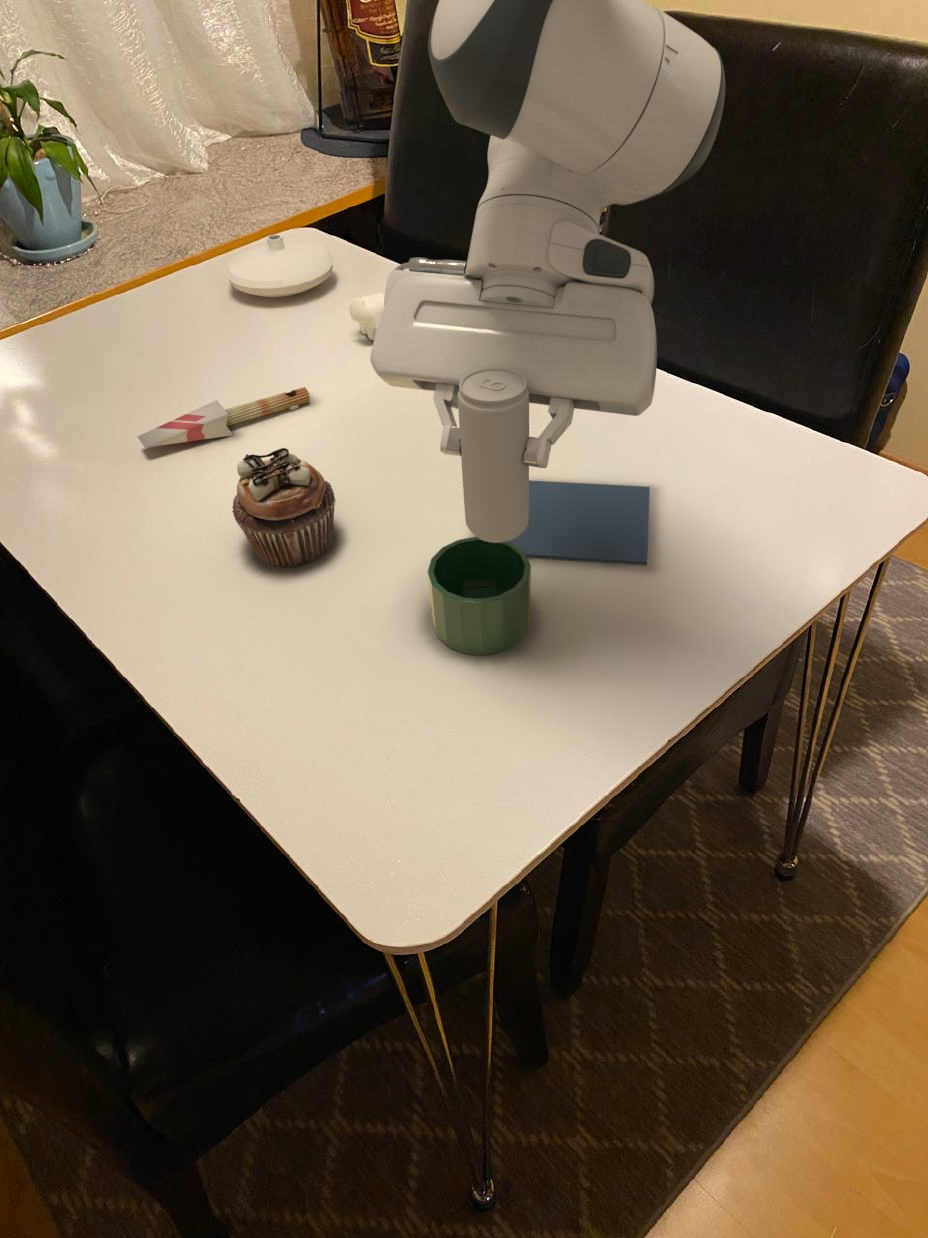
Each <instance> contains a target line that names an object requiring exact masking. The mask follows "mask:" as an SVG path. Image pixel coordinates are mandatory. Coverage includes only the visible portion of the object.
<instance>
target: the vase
mask: <svg viewBox="0 0 928 1238" xmlns="http://www.w3.org/2000/svg"><path fill="white" fill-rule="evenodd" d="M333 267H334V257H333V256H332V254H331V253H330V252H329V251H328V250H327V249H325V248H324V247H323V246H321V245H319V244H315V243H311V242H306V241H284V238H283V235H282V234H277V233H275V234H270V235H267V236H266V243H264V244H261V245H258V246H257V245H256V246H254V247H251V248H249V249H246V250H244V251H242V252H239V253H238V254H236V255H235V256H233V258H232V259H231V260H230V261H229V262H228V264H227V266H226V269H225V276H226V279H227V280H228V282H229V283H230V286H231V287H233V288H234V289H236V290H237V291H239V292H242V293H245V294H249V295H253V296H257V297H264V298H283V297H290V296H295V295H298V294H301V293H305V292H307V291H309V290H311V289H312V288H315V287H317V286H318V285H319V284H321V283H323V282H324V281H325V280H327V279H328V278H329V277H330V276H331V274H332V273H333Z"/></svg>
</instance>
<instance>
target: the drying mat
mask: <svg viewBox="0 0 928 1238" xmlns="http://www.w3.org/2000/svg"><path fill="white" fill-rule="evenodd" d="M649 512H650V486H642V485H641V486H640V485H622V484H607V483H605V484H603V483H588V482H587V483H585V482H566V481H546V480H531V479H529V522H528V525H527V527H526V529H525V530H524V531H523V532H522V533H521V534H520V535H519V536H517V537H516V538H514V539H512V540H509V541H508V542H511V543H513V544H515V545H516V546H517V547H518V548H520V549H521V550H522V551H523V552H525V553H526V556H527V558H528V559H529V558H531V559H545V560H560V561H562V560H563V561H574V562H575V561H576V562H577V561H578V562H592V563H605V564H619V565H620V564H622V565H636V566H647V565H648V555H649V551H648V550H649V547H648V546H649V521H650V520H649V518H650V517H649V516H650V515H649V514H650V513H649Z"/></svg>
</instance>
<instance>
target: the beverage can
mask: <svg viewBox="0 0 928 1238" xmlns="http://www.w3.org/2000/svg"><path fill="white" fill-rule="evenodd" d="M459 388H460V389H459V392H458V409H457V410H458V424H459V426H458V427H460V443H461V456H460V457H461V458H460V459H461V475H462V490H463V504H464V505H463V506H464V518H465V524H466V525H465V526H466V527H467V529H468V530H469V531H470V532H471V533H472V534H473V535H474V537H478V538H480V539H481V540H483V541H487V542H494V543H499V542H506V541H509V540H512V539H514V538H516V537H517V536H519V535H520V534H521V533H522V532H523V531H524V530H525V529H526V527H527V525H528V522H529V480H530V466H526V464H525V463H524V462H523V457H524V452H525V451H526V450H527V448H526V446H525V445H526V442H527V438H528V437H530V403H529V391H528V387H527V381H526V378H525V377H524V376H523V375H522V374H521V373H519V372H517V371H515V370H512V369H508V368H503V367H489V368H482V369H478V370H475V371H472V372H470V373H468V374H467V375H465V376H464V377H463V378H462V379H461V381H460V384H459Z"/></svg>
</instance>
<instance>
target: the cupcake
mask: <svg viewBox="0 0 928 1238" xmlns="http://www.w3.org/2000/svg"><path fill="white" fill-rule="evenodd" d="M263 458H269V459H267V460H263ZM236 467H237V469H236V471H237V475H238V476H239V477H240V478H239V480H238V482H237V485H236V495H235V496H234V498H233V500H232V510H231V512H232V514H233V517H234V521H235V522H236V524H237V525H238V527H239V528H240V530H241V531H242V533H243V534H244V535H245V537H246V539H247V541H248V543H249V546H250V547H251V550H252V551H253V552H254V554H255V555H256V556H257V558H259V559H260V561H261V562H264V563H266V564H267V565H269V566H273V567H276V568H277V567H278V568H297V567H300V566H303V565H305V564H308V563H312V562H314V561H317V560H318V559H320V558H322V556H324V555H325V553H327V552H328V551H329V550H330V548H331V546H332V545H333V541H334V523H335V521H334V518H335V506H336V500H337V499H336V497H335V491H334V488H333V487H332V485H331V483H330V482H329V481H328V480H325V478H324V476H323V475H322V473H321V472H319V470H317V469H316V468H315V467H314V466H312V465H311V464H310V463H308V462H307V461H305V460H303V459H300V458H299V457H298V456H297V455H296V454H294V453H290V451H289V449H288V448H285V447H282V448H278V449H276V450H273V451H272V452H270V453H268V454H263V455H258V454H253V453H252V454H247V453H246V454H245V456H244V458H242V460H241V461H240V462H239V461H238V463H237V465H236Z"/></svg>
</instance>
